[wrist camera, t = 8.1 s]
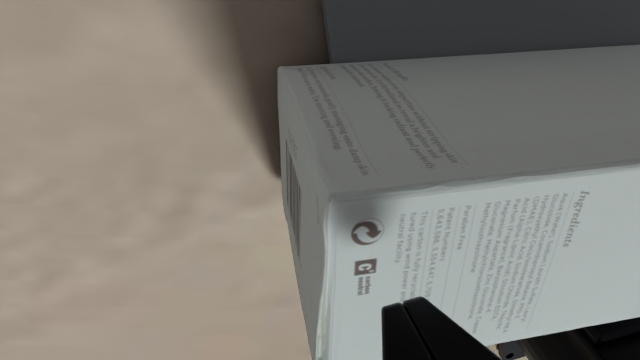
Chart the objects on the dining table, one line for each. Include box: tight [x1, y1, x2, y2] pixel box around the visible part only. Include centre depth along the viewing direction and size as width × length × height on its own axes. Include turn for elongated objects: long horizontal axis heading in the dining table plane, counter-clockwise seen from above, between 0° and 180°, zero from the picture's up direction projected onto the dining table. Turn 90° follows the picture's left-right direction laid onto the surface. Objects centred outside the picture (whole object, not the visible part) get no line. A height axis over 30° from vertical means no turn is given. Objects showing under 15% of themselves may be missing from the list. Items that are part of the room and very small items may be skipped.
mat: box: [321, 0, 640, 64], centre depth 18 cm, size 16×18×1 cm
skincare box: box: [277, 45, 640, 360], centre depth 15 cm, size 8×6×15 cm
